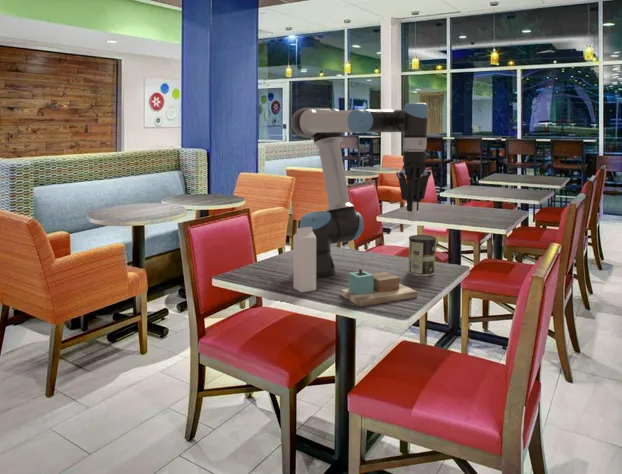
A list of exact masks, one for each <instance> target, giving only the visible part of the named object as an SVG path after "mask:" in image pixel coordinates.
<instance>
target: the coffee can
mask: <svg viewBox="0 0 622 474" xmlns="http://www.w3.org/2000/svg"><path fill="white" fill-rule="evenodd" d="M436 245H437V237H435V236H433V235H429V234H427V235H426V234H413V235H410V236H409V237H408V270H407V273H408V274H409V275H412V276H415V277H416V276H419V277H430V276H434V275H435V274H436V272H435V271H436V270H435V269H436V266H435V265H436V248H437V247H436Z"/></svg>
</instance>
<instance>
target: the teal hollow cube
mask: <svg viewBox="0 0 622 474" xmlns="http://www.w3.org/2000/svg"><path fill="white" fill-rule="evenodd" d="M358 273H359V271H355V272H349V273H348V288H349V291H351V292H353V293H355V294H357V295H362V294H368V293H373V288H374V275H372V274H373V273H370V272H368V271H366V270H362V273H363V275H362V276H359V275H358Z"/></svg>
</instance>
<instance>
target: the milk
mask: <svg viewBox="0 0 622 474" xmlns="http://www.w3.org/2000/svg"><path fill="white" fill-rule="evenodd" d="M292 245H293V247H292V248H293V253H292V254H293V258H292V259H293V261H292V262H293V268H292V269H293V289H294V290H296V291H297V292H300V293H306V292H312V291H317V277H316V236H315V234H314V233H313V231H312V227H304V228H300V227H297V228H296V233H294V235H293V239H292Z"/></svg>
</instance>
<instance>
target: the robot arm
mask: <svg viewBox="0 0 622 474" xmlns="http://www.w3.org/2000/svg"><path fill="white" fill-rule="evenodd" d="M428 110H429V107H428V104H427V103H425V102H408V103H405V105H404V108H403V109H371V108H369V109H368V108H357V109H347V110H344V109H343V110H339V109H337V108H332V107H302V108H300V109H298V110H296V111H295V112H294V113H293V115H292V118H291V127H292V130H293V131H294V134H296V135H298V136H299V137H301V138H306V139H307V138H309V139H312V140H313V144H314V145H315V146H316V147H317V148H318V152H319V158H320V162H321V169H322V175H323V180H324V187H325V192H326V199H327V204H328V206H327V208H326V209H325V210H319V211H311V212H307V213H305V214H303V215H302V216H301V218H300V225H299V228H304V227H312V231H313V233H314V234H315V236H316V278H325V277H329V276H333V275H334V274H336V273H335V272H336V266H335V263H334V260H333V257H332V253H331V252H332V251H331V246H332V244H334V245H335V244H339V243H340V244H341V243H348V242H352V241H355V240H357V239H359V237H360V236H361V235H362V233H363V230H364V223H365V222H364V218H363V216H362V215H361V213H360V212H358V211H356V209H355V205H354V204H352V203H351V201H350V195H349V190H348V184H347V178H346V173H345V166H344V161H343V156H342V155H343V154H342V150H341V148H342V147H341V142H342V141H343V136H344V135H345V133H357V134H362V133H363V134H364V133H403V151H402V152H403V153H402V154H403V155H402V162H403V166H402V169H401V170H400V171H396V173H395V175H396V177H397V178H398V185H399V188H400V196H401V199H402V200H404V201H405V202H406V211H407V220H408V221H411V222H417V215H418V214H417V213H418V211H419V203H421V202H422V201H421V200H424V199H425V196H426V192H427V188H428V187H427V186H428V184H429V183H428V181H429V179H430V178H431V177H430V176H431V174H432V171H430V170H428V169H427V168H426V164H425V163H426V162H427V161H426V160H427V152H426V151H425V150H426V149H427V141H428V140H427V139H428V121H429V111H428ZM314 145H313V146H314Z"/></svg>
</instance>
